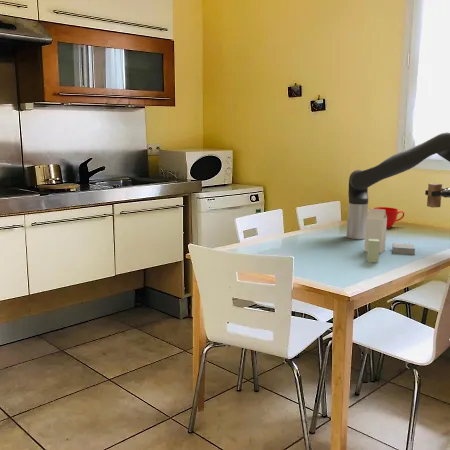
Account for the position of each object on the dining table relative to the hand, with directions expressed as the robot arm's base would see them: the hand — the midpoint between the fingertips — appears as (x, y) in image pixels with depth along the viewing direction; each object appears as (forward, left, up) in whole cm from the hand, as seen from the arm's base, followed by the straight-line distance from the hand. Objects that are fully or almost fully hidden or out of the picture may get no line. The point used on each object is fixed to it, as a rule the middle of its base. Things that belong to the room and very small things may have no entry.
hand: (428, 193), depth 228 cm
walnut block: (+2, +1, -6) cm, 7 cm away
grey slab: (-9, -5, -26) cm, 28 cm away
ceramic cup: (-17, +50, -26) cm, 59 cm away
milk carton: (-21, -9, -26) cm, 35 cm away
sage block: (-21, -27, -26) cm, 43 cm away
